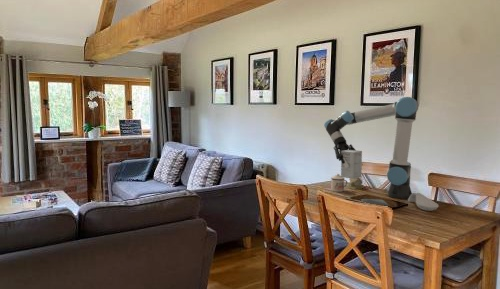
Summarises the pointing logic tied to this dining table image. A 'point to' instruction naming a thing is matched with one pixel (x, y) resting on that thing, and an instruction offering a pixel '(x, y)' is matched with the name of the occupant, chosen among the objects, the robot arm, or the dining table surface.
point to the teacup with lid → (338, 183)
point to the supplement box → (352, 164)
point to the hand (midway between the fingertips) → (354, 166)
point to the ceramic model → (355, 183)
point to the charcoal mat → (375, 201)
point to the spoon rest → (423, 202)
